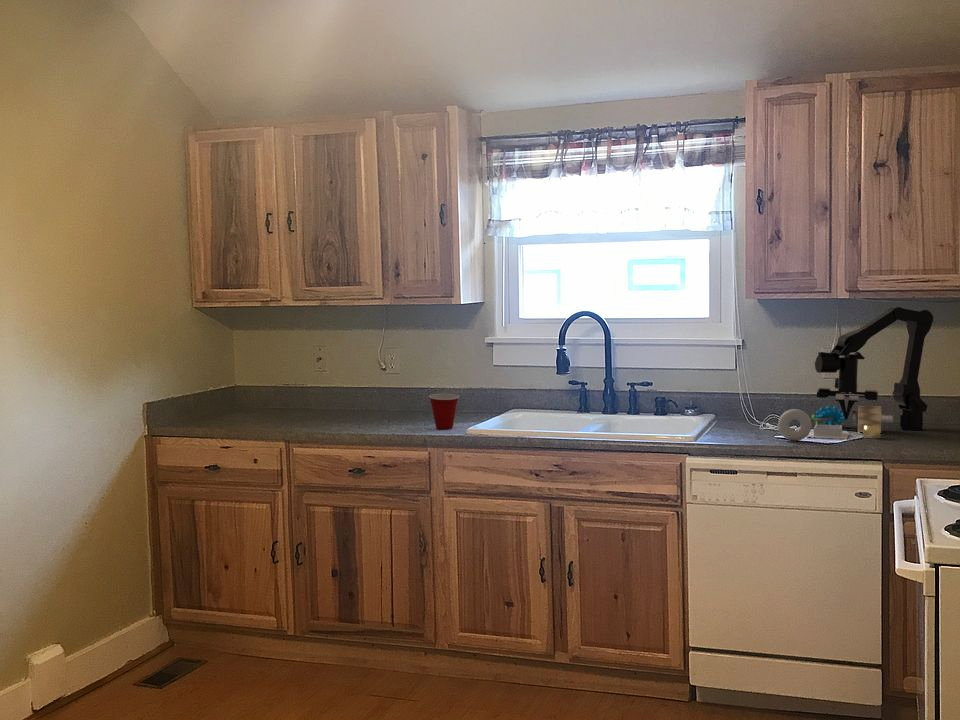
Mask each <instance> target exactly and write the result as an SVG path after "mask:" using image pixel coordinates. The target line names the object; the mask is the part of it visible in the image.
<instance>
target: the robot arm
mask: <svg viewBox="0 0 960 720" xmlns="http://www.w3.org/2000/svg"><path fill="white" fill-rule="evenodd" d="M896 321H901V322H906V329H907V334H908V341H907V347H906V353H905V360H904V365H903V371H902V377H901V379H900V381H899V382H894V385H893V391H892V394H891V395H893V400H894V401H895V403H896V404H897V405H898V408H899V410H901V411H902V412H901V413H900V414H899V416H900V417H899V420H900V421H899V426H900V428H901V430H904V431H905V430H908V431H909V430H910V431H911V430H912V431H924V427H923V426H924V425H923V424H924V413H925V412H927V409H928V404H927V403H925V401H924V400H922V398H921V387H920V384H919V380H918V379H919V374H920V368H921V363H922V361H921V360H922V356H923V350H924V344H925V338H926V336H927V335H928V334H929V332H930V330H931V328H932V324H933V323H934V314H932V312H931V311H930V310H928V309H907V308H903V307H901V306H891V307H889V308H888V309H887V310H886V311H884V312H883V313H881V314H880V315H878V316H876V317H875V318H874V319H872V320H871V321H869V322H867V323H866V324H864V325H863V326H862V327H860V328H857V329H855V330H852V331H848V332H847V333H845V334H842V335H840V336H839V337H838V338H837V342H836V344H835V345H834V347H833V349H832V350H830V352H824V351H819V352H817V356H816V359H815V361H814V368H815V371H816V373H819V374H826V373H827V374H828V373H829V374H835V373H837V372H838V378H836V377H835V378H834V389H837V390H832V389H831V387H819V388H818V389H817V390H816V398H824V399H827V398H828V397H835V400H834V401H836V402H838V404H839V405H840V407H841V408H840V409H842V411H843V414H844V417H845V421H847V420H848V419H849V415H850V413H851V410H852V409H853V406H854V404H855V403H858V402H859V401H860V400H859V398H862V399H863V398H865V400H867V401H878V399H879V396H878V395H879V392H878V391H877V390H876V389H875V390H874V389H865V390H864V391H858V368H859V367H858V365H859V364H858V363H859V360H865V356H863V355H862V354H861V352H859V351H860V350H861V349H862V348H863V347H864V346H865V345H866V344H867V342H868V341H869V340H870V339H871V338H872V337H874V336H875V335H877V334H878V333H880V332H881V331H883V330H884V329H886V328H888V327H889V326H891V325H892V324H894V323H895V322H896ZM853 353H854V354H853ZM847 398H849V399H848V401H846V400H847Z"/></svg>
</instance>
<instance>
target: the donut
mask: <svg viewBox="0 0 960 720" xmlns="http://www.w3.org/2000/svg"><path fill="white" fill-rule="evenodd" d="M794 420H795V421H797V422H798V423H800V424H799V428H798V429H792V428H791V426H790V423H791V422H792V421H794ZM812 427H813V426H812V418H810V416H809V414H808V413H807V412H805V411H803V410H801V409H797V408H792V409H788V410H785V411H784V412H783V413H782V414H781V415H780V417H779V418H778V422H777V428H778V431H779V433H780V435H782V437H783V438H785V439H787V440H788V441H792V442H796V441H802V440H803V439H805V438H807V435H808V434H809V433H810V431H812Z"/></svg>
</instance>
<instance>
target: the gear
mask: <svg viewBox="0 0 960 720" xmlns="http://www.w3.org/2000/svg"><path fill="white" fill-rule="evenodd" d="M832 408H833V409H832ZM815 413H816V414H812V415H811V420H814V423H815V425H819V423H820V424H822V423H823V425H836V424H837V425H841V424H842V422H845V421H846V420H845V417H844V414H843V411H842V408H839V411H838V406H833V407H831V406H830V405H827V406H825V408H824V407H820V408H819V410H816V412H815Z"/></svg>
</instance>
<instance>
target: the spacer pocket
mask: <svg viewBox="0 0 960 720" xmlns="http://www.w3.org/2000/svg"><path fill="white" fill-rule="evenodd" d="M848 435H850V432H847V431H846V432H844V431H843V425H841V424H835V425H829V424H828V425H824V424H818V425H816V424H815V425H814V427H813V430H811V431H810V433H809V434H808V435H807V436H806V438H807V437H815V438H814V439H818V438H834V439H833V440H845V439H847V438H849V436H848ZM816 437H817V438H816ZM847 440H848V439H847Z"/></svg>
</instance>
